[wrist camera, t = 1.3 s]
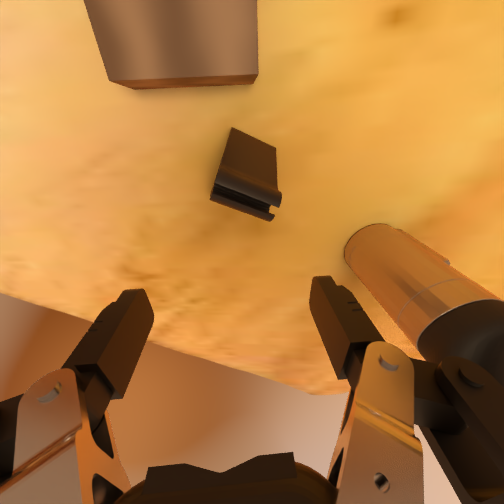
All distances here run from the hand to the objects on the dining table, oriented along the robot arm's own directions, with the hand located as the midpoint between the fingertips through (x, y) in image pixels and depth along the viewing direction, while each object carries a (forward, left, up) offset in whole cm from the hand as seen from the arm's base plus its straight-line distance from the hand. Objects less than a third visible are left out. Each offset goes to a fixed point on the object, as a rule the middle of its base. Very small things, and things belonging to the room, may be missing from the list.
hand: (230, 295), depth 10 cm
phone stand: (-1, -1, -23) cm, 23 cm away
